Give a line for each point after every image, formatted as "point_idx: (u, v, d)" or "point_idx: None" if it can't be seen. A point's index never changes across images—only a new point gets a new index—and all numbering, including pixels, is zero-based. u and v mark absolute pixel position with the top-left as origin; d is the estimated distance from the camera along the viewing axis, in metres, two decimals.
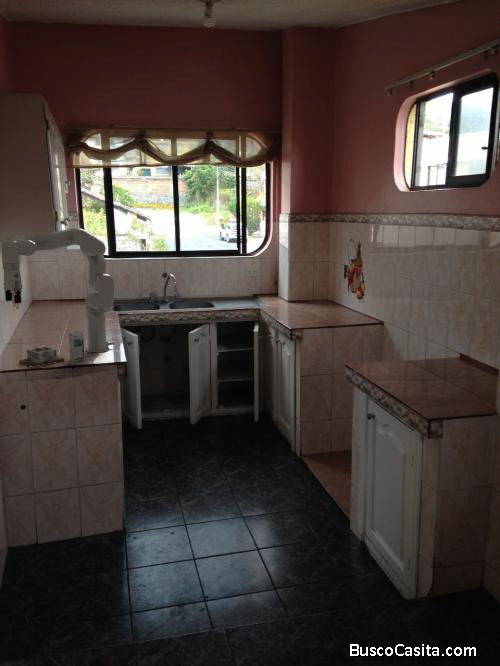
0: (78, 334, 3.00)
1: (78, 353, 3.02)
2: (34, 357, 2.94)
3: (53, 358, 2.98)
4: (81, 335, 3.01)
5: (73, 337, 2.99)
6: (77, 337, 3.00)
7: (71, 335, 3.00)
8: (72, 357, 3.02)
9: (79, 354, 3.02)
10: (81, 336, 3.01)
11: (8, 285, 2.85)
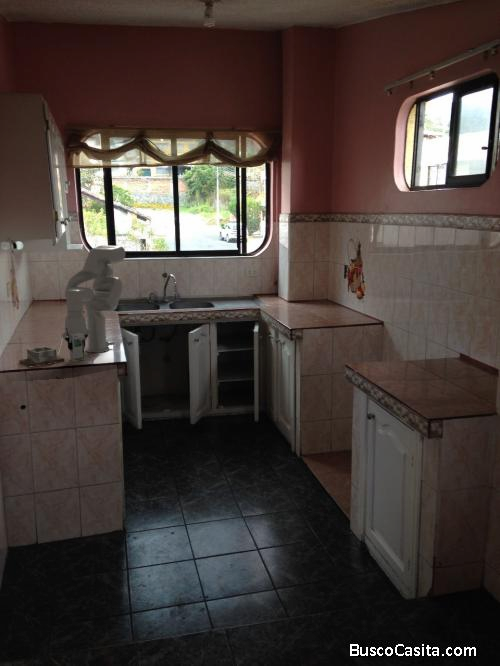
0: (78, 334, 3.00)
1: (78, 353, 3.02)
2: (34, 357, 2.94)
3: (53, 358, 2.98)
4: (81, 335, 3.01)
5: (73, 337, 2.99)
6: (77, 337, 3.00)
7: None
8: (72, 357, 3.02)
9: (79, 354, 3.02)
10: (81, 336, 3.01)
11: (79, 331, 3.01)
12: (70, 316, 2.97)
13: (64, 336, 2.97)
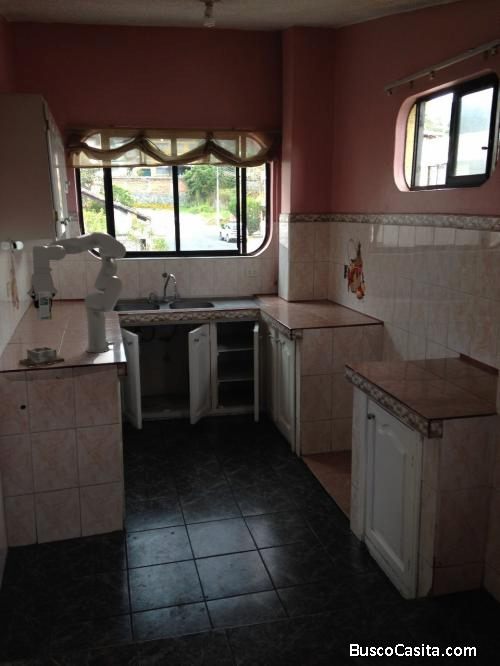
0: (45, 292, 2.91)
1: (45, 312, 2.93)
2: (34, 357, 2.94)
3: (53, 358, 2.98)
4: (48, 293, 2.92)
5: (40, 294, 2.90)
6: (44, 295, 2.91)
7: None
8: (38, 316, 2.93)
9: (46, 313, 2.93)
10: (48, 294, 2.92)
11: (46, 289, 2.92)
12: (36, 273, 2.88)
13: (30, 293, 2.88)
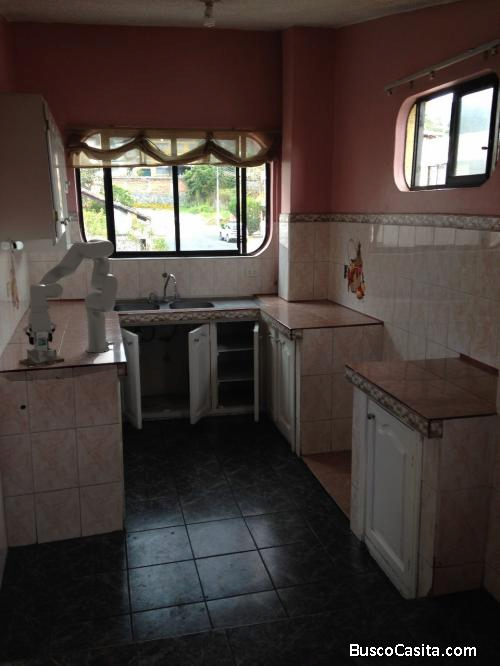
0: (42, 333, 2.95)
1: None
2: (34, 357, 2.94)
3: (53, 358, 2.98)
4: (46, 333, 2.96)
5: (38, 335, 2.94)
6: (42, 336, 2.95)
7: (35, 334, 2.94)
8: None
9: None
10: (46, 335, 2.96)
11: (44, 327, 2.95)
12: (33, 311, 2.91)
13: (25, 330, 2.91)
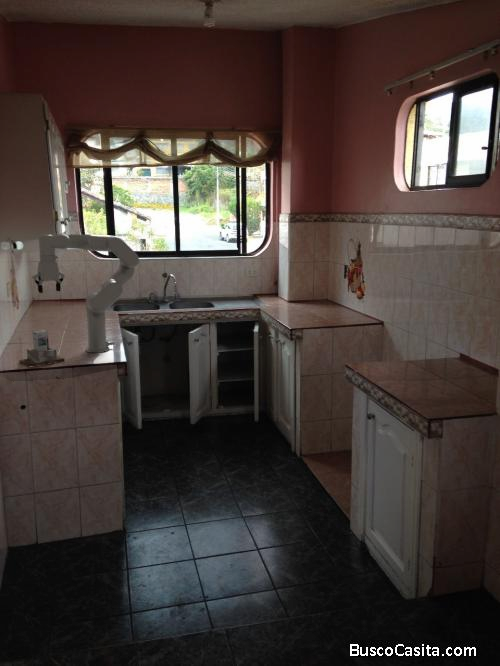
0: (42, 333, 2.95)
1: None
2: (34, 357, 2.94)
3: (53, 358, 2.98)
4: (46, 333, 2.96)
5: (38, 335, 2.94)
6: (42, 336, 2.95)
7: (35, 334, 2.94)
8: None
9: None
10: (46, 335, 2.96)
11: (52, 276, 3.07)
12: (42, 260, 3.03)
13: (35, 278, 3.03)
